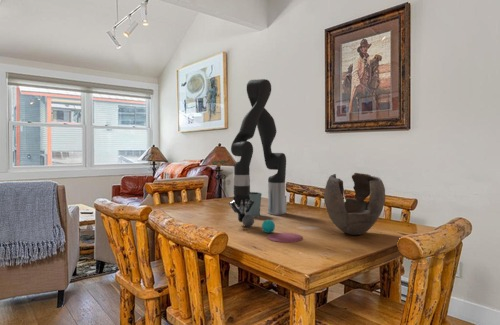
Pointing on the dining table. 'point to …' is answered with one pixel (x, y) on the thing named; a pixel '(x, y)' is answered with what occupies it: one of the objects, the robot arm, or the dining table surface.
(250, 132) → the robot arm
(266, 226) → the teal ball
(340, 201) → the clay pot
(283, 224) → the dining table surface
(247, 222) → the gray ball
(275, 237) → the plum mark
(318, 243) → the dining table surface
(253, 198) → the drinking glass
